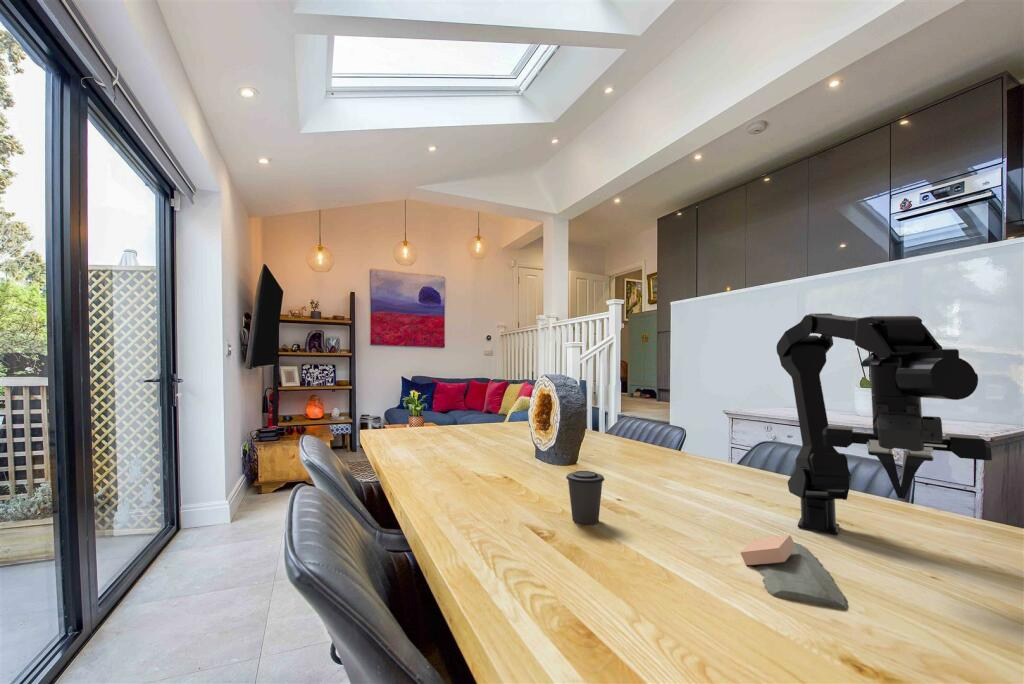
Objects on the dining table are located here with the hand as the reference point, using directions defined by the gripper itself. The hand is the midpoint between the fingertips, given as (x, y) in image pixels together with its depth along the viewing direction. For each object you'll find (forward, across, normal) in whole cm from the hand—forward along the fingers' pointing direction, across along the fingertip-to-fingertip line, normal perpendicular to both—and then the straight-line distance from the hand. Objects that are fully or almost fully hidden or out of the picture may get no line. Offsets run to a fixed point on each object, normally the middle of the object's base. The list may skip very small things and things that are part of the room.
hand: (901, 498), depth 66 cm
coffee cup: (+12, -50, -9) cm, 52 cm away
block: (+9, -14, -8) cm, 18 cm away
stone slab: (+13, -14, -7) cm, 20 cm away
